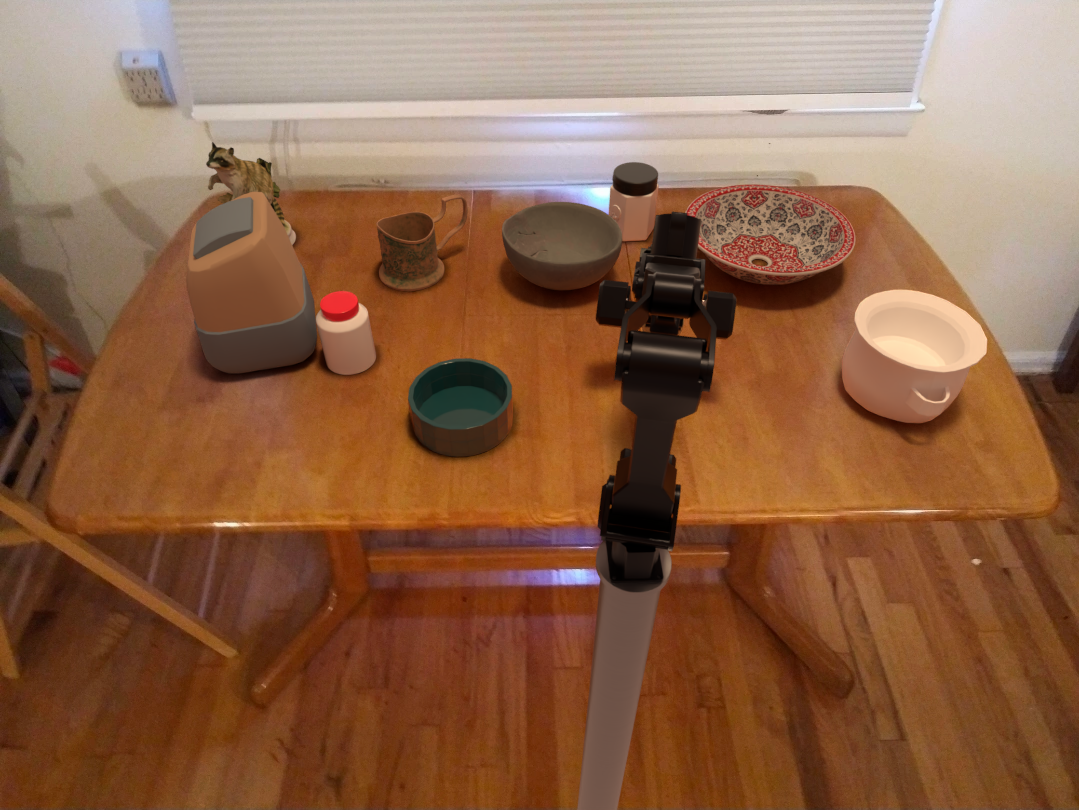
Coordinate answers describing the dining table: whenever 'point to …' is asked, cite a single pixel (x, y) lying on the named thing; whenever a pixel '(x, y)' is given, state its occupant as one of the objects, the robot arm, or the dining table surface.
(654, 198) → the jar
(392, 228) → the mug
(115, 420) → the dining table surface
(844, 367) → the pot
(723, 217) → the ceramic bowl
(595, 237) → the bowl
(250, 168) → the figurine
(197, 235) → the trash can
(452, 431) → the round teal dish
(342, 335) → the pill bottle
